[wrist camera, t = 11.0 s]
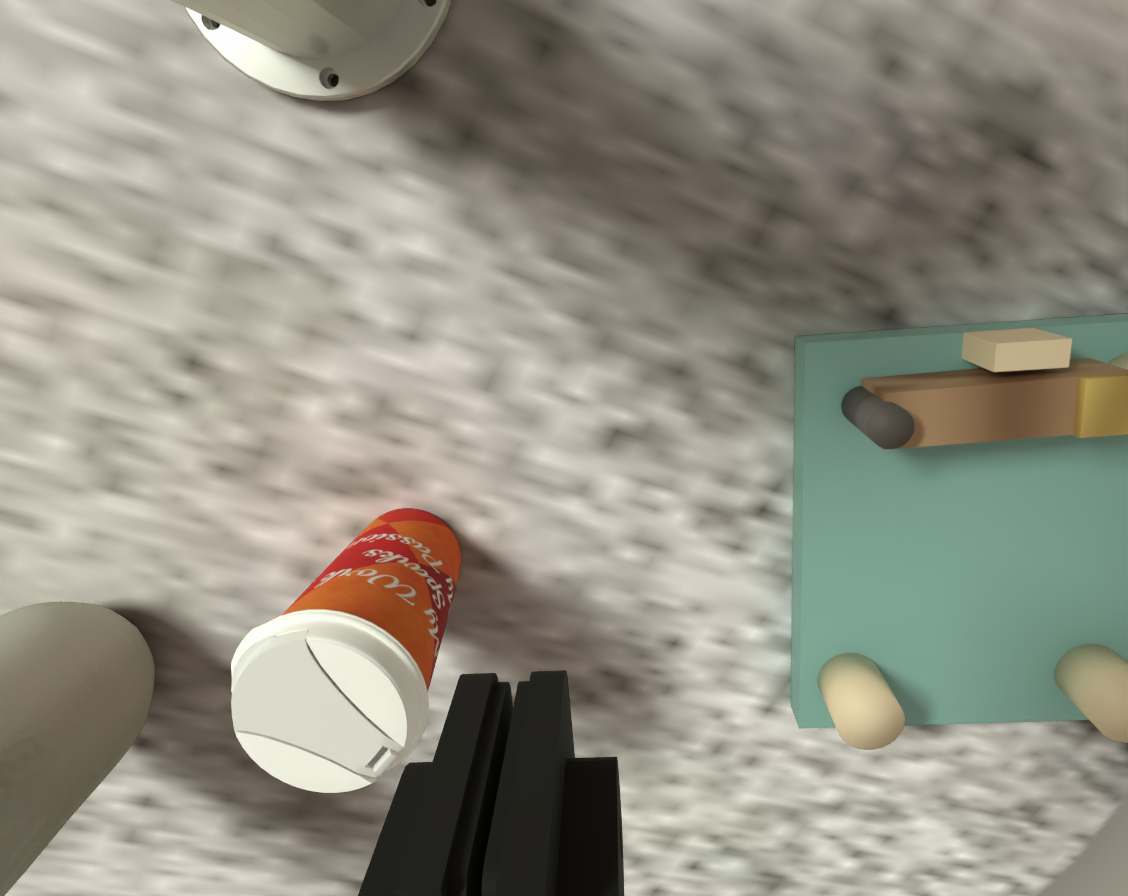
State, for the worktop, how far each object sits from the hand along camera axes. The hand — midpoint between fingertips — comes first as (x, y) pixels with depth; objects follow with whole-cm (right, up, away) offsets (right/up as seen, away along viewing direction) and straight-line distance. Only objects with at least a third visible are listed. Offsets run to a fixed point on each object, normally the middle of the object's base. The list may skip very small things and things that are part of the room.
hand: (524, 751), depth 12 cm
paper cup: (-8, -1, +29) cm, 30 cm away
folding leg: (+19, +7, +23) cm, 30 cm away
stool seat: (+21, +1, +27) cm, 34 cm away
